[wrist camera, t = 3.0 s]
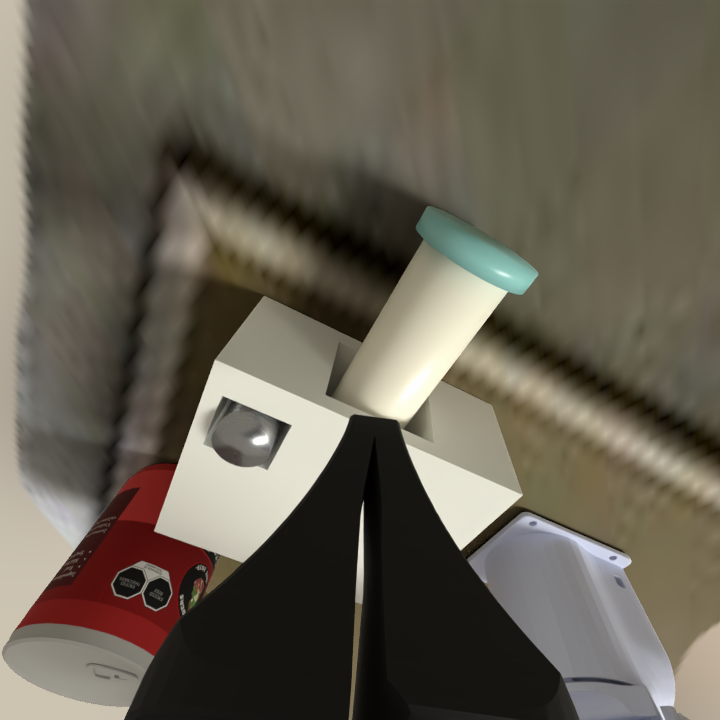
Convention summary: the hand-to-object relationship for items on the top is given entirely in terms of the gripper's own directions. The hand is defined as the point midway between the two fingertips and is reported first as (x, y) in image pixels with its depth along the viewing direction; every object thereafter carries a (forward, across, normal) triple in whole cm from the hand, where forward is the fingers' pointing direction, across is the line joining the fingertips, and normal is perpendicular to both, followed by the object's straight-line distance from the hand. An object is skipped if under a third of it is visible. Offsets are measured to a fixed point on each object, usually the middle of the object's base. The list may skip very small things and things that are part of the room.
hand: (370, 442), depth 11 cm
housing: (+10, +2, +8) cm, 13 cm away
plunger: (+7, +5, +4) cm, 9 cm away
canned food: (+10, +12, +17) cm, 23 cm away
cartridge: (+9, 0, +3) cm, 10 cm away
